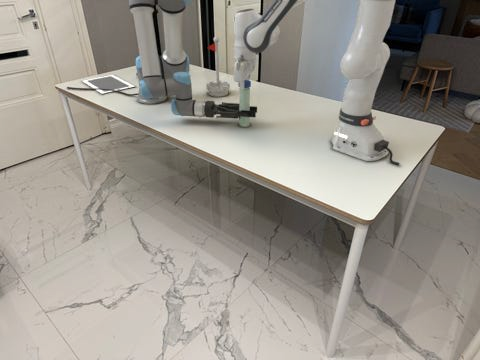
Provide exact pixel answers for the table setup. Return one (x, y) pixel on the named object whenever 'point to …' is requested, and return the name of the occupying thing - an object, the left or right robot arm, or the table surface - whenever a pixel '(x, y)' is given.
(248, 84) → the lid
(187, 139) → the table surface
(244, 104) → the pale green cylinder
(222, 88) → the flag stand
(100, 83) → the tablet
